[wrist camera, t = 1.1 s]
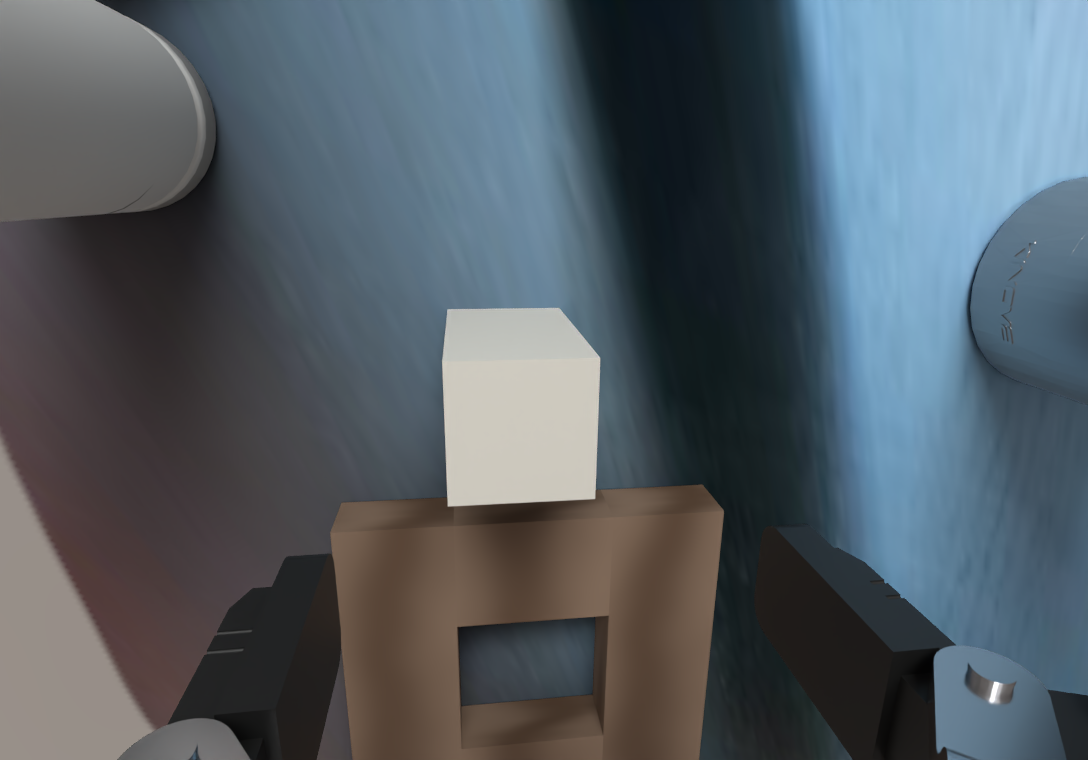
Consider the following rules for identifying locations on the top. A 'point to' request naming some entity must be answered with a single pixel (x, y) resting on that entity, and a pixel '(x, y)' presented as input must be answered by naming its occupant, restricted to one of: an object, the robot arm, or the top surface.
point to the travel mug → (95, 113)
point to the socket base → (522, 596)
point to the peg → (518, 407)
